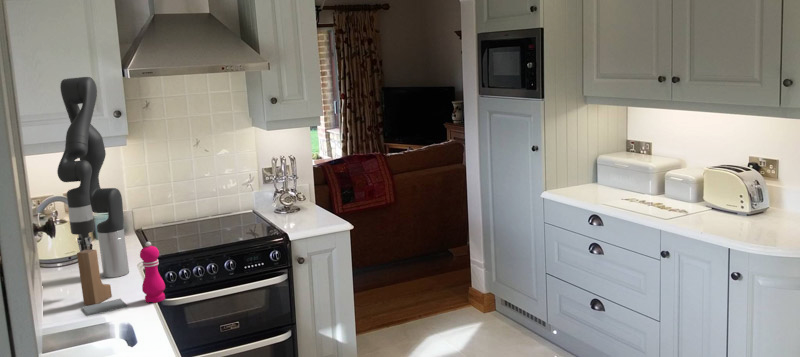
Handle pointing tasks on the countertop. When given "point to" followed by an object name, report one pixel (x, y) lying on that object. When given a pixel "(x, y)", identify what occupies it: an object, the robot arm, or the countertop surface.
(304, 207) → the countertop surface
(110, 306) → the grey mat
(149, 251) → the pepper mill
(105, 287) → the wooden block
